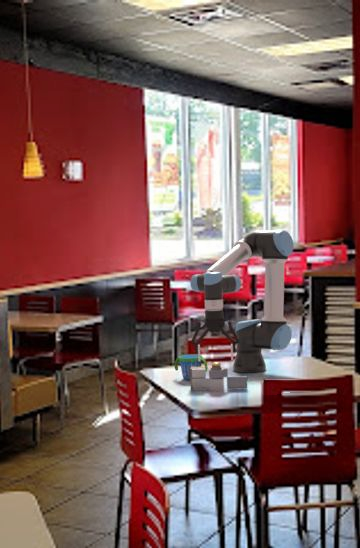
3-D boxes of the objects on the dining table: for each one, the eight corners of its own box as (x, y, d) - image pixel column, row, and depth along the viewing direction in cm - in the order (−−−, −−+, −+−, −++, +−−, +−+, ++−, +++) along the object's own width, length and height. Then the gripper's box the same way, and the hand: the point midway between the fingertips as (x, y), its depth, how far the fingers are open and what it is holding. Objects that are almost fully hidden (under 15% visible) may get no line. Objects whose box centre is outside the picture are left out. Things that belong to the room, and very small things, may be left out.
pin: (212, 388, 346) (211, 362, 345) (221, 388, 345) (220, 362, 345) (212, 390, 342) (211, 363, 341) (221, 390, 342) (220, 363, 341)
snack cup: (170, 379, 369) (169, 356, 368) (183, 375, 377) (182, 353, 377) (199, 382, 360) (198, 359, 359) (212, 378, 368) (211, 355, 368)
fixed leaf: (193, 388, 347) (192, 367, 347) (223, 388, 346) (223, 367, 346) (192, 391, 342) (191, 370, 341) (223, 391, 341) (222, 369, 340)
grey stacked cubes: (209, 390, 341) (208, 370, 340) (209, 387, 347) (209, 367, 346) (247, 389, 340) (246, 369, 339) (246, 386, 346) (246, 366, 345)
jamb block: (191, 387, 350) (190, 366, 349) (205, 387, 349) (205, 366, 349) (190, 389, 345) (190, 369, 344) (205, 389, 345) (204, 368, 344)
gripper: (183, 311, 338) (185, 362, 340) (244, 309, 337) (246, 361, 338) (184, 309, 346) (186, 359, 347) (244, 307, 344) (245, 358, 346)
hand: (215, 360), depth 343 cm, fingers open, 13 cm apart
